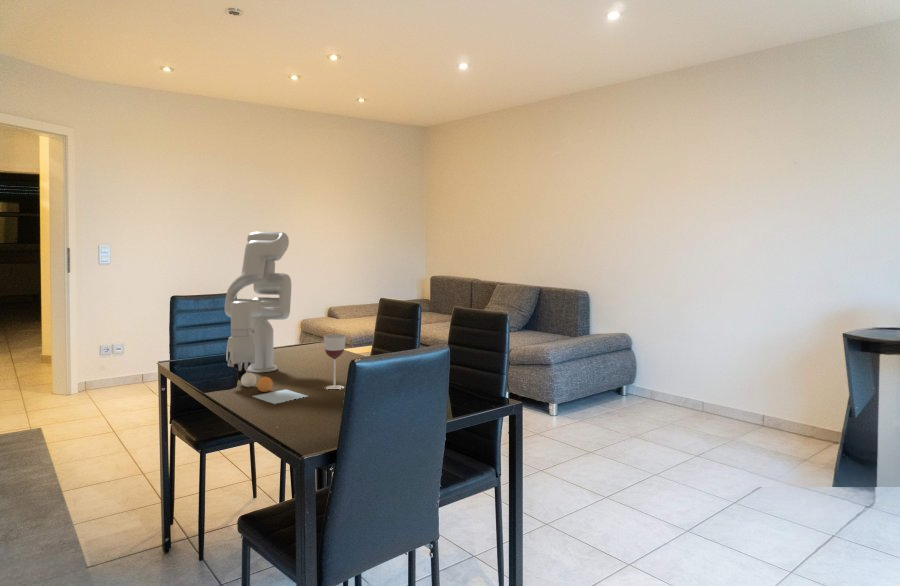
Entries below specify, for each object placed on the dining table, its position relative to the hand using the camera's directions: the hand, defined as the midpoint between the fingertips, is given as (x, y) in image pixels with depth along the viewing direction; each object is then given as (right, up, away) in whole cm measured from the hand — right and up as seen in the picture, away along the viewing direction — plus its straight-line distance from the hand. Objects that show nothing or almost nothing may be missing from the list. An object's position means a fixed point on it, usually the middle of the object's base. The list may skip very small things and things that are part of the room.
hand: (241, 380), depth 224 cm
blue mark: (+20, -4, -16) cm, 25 cm away
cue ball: (+4, 0, -2) cm, 5 cm away
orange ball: (+12, 0, -9) cm, 15 cm away
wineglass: (+36, -3, -1) cm, 36 cm away
